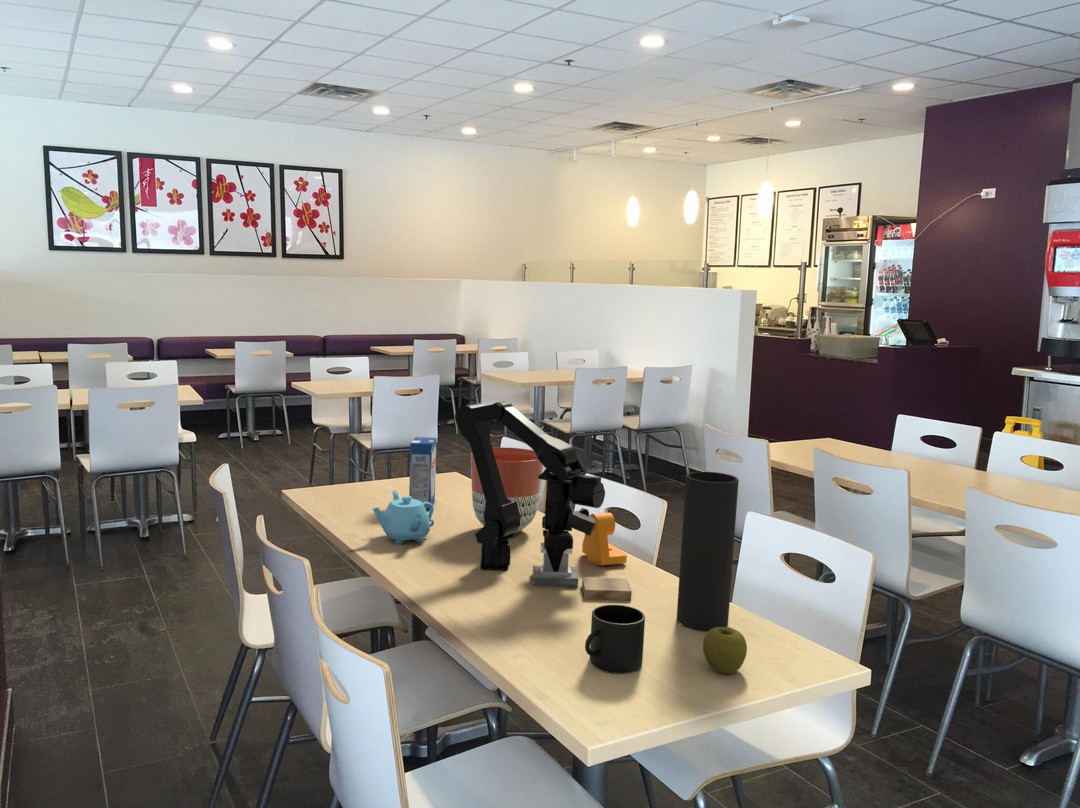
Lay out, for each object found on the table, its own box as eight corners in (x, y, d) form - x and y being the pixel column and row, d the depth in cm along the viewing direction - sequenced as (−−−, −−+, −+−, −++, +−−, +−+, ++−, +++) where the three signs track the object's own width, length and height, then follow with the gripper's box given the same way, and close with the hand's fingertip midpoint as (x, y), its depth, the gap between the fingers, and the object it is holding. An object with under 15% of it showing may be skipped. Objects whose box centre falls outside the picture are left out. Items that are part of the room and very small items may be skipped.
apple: (738, 660, 154) (741, 623, 153) (750, 680, 146) (753, 641, 145) (697, 659, 154) (699, 621, 153) (707, 679, 146) (710, 640, 145)
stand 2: (584, 598, 182) (585, 589, 182) (582, 585, 190) (582, 577, 190) (631, 600, 182) (631, 591, 182) (626, 587, 190) (626, 578, 190)
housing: (540, 575, 190) (541, 549, 189) (539, 567, 195) (540, 542, 194) (571, 576, 190) (572, 550, 189) (569, 568, 195) (571, 543, 194)
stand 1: (533, 585, 189) (533, 577, 188) (532, 573, 197) (532, 565, 196) (577, 587, 189) (578, 578, 189) (575, 575, 197) (575, 566, 197)
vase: (666, 618, 173) (675, 474, 169) (700, 608, 179) (710, 469, 175) (703, 635, 165) (714, 485, 161) (738, 625, 171) (749, 479, 167)
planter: (554, 536, 228) (558, 457, 225) (492, 546, 217) (495, 463, 214) (515, 518, 244) (517, 445, 241) (455, 527, 232) (457, 450, 230)
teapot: (365, 542, 216) (366, 498, 214) (392, 528, 228) (393, 487, 227) (419, 550, 211) (420, 506, 209) (443, 536, 223) (444, 494, 222)
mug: (567, 662, 151) (569, 613, 149) (617, 647, 158) (620, 600, 157) (601, 682, 143) (604, 631, 142) (653, 666, 150) (656, 617, 149)
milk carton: (430, 510, 248) (431, 443, 245) (408, 510, 248) (410, 442, 246) (434, 502, 258) (436, 437, 255) (414, 501, 258) (415, 437, 255)
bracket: (627, 566, 206) (630, 518, 204) (600, 568, 203) (603, 519, 201) (607, 552, 215) (610, 506, 214) (581, 555, 213) (584, 508, 211)
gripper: (598, 512, 181) (594, 582, 183) (590, 492, 200) (587, 556, 202) (546, 510, 181) (542, 581, 183) (543, 490, 200) (540, 554, 202)
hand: (555, 567), depth 192 cm, fingers closed on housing, 5 cm apart
